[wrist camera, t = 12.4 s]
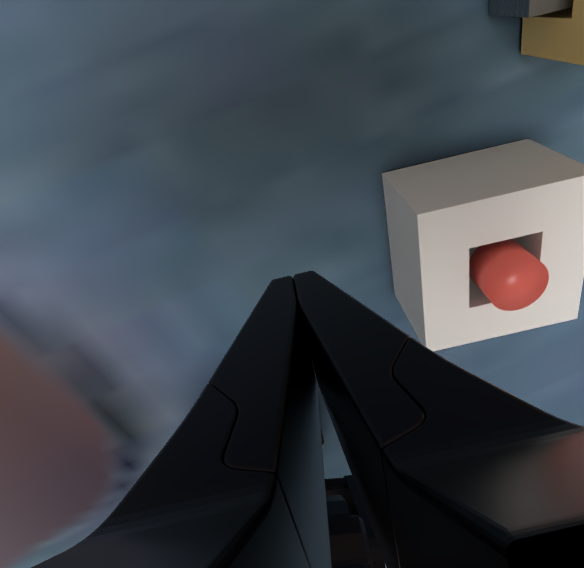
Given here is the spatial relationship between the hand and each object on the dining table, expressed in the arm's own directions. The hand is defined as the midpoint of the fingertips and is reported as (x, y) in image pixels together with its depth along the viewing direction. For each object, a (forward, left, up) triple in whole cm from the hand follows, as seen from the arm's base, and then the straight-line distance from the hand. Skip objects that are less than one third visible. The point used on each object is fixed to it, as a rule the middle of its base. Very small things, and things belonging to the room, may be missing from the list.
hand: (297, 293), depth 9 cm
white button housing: (-6, -9, -13) cm, 17 cm away
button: (-6, -9, -9) cm, 14 cm away
